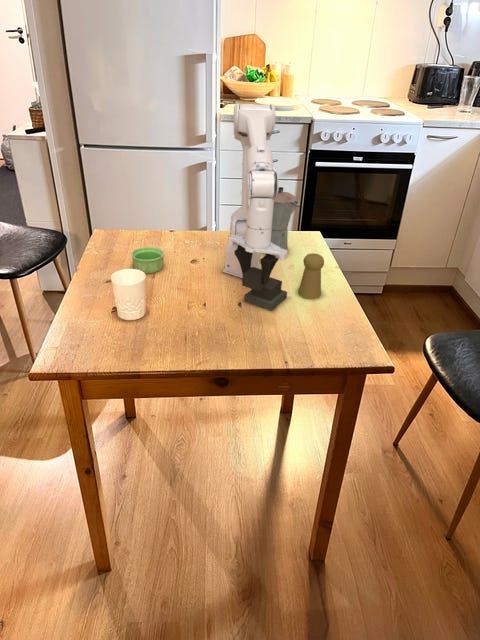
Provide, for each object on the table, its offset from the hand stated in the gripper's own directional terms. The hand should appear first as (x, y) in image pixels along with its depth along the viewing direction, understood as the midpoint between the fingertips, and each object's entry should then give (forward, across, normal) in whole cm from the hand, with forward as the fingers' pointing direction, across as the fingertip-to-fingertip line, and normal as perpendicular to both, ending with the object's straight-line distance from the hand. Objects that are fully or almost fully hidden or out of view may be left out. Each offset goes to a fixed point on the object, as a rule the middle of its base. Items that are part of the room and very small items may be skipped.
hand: (255, 279), depth 118 cm
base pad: (+9, -1, +7) cm, 12 cm away
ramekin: (+10, -37, +3) cm, 38 cm away
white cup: (+10, -24, -18) cm, 31 cm away
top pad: (+1, 0, 0) cm, 1 cm away
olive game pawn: (+10, +7, +17) cm, 21 cm away
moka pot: (+10, -15, +35) cm, 39 cm away
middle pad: (+7, -1, +7) cm, 10 cm away
